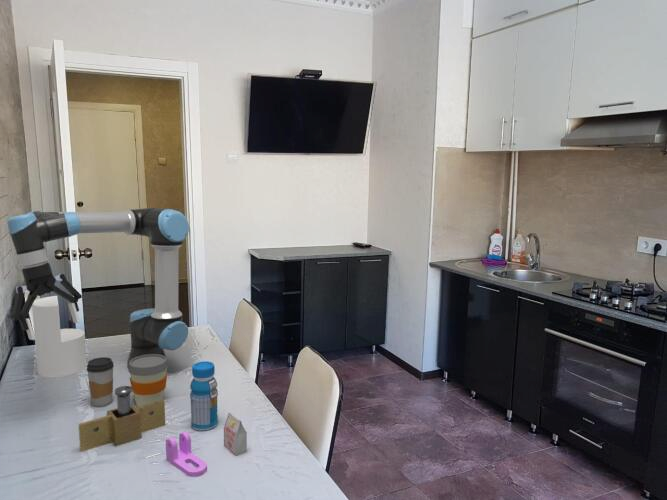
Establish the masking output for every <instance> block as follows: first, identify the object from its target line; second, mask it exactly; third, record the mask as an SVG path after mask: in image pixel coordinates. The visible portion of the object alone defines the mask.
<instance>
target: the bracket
mask: <svg viewBox="0 0 667 500" xmlns="http://www.w3.org/2000/svg"><path fill="white" fill-rule="evenodd" d="M178 439H179V440H178V441H179V442H177V440H176V438H175V437H174V436H173V437H172V436H171V437H169V438H167V439H166V440H165V457H166V458H165V459H166V461H167V462H168V463H170V464H171V465H173V466H175V467H176V468H177V469H178V470H180V471H181V472H182V473H184V474H185V475H187V477H193V478H195V477H199V476H202V475H204V474H205V473H207V470H208V468H207V467H208V464H207V462H206V461H204V460H203V459H202V458H200V457H199V456H197V455H195V454H194V453H192V440H191V439H192V438H191V436H190V433H189V432H188V431H184V432H180V433H179V435H178ZM178 445H179V448H178ZM190 464H191V465H193V466H194V467H193V466H191V465H190Z"/></svg>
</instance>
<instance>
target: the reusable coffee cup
mask: <svg viewBox="0 0 667 500" xmlns="http://www.w3.org/2000/svg"><path fill="white" fill-rule="evenodd" d="M166 357H167V356H166ZM166 357H165V356H163V355H158V354H148V355H142V356H138V357H135V358H133V359H132V360H130V362H129V369H128V373H129V374H130V375H129V376H130V377H129V382H130V387H131V388H132V392H131V393H133V396H134V401H135V405H136V407H140V406H143V405H147V404H150V403H154V402H157V401H161V400H164V397H165V389H166V387H167V380H168V379H167V378H168V373H167V369H168V361H167V359H168V358H167V359H166Z"/></svg>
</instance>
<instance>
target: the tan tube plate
mask: <svg viewBox="0 0 667 500" xmlns="http://www.w3.org/2000/svg"><path fill="white" fill-rule="evenodd" d="M165 401H166V400H164V399H163V400H161V401H157V402H154V403H150V404H147V405H143V406H140V407H138V406H134V404H133V403H130V404H131V414H130V415H127V416H123V417H120V418H118V407H116V408H113V409H108V410H106V415H105V416H101V417H98V418H95V419H91V420H87V421H84V422H81V423H78V439H79V451H80V452H85V451H89V450H91V449H93V448H97V447H100V446H103V445H106V444H110V443H113V444H114V446H115V447H118V446H121V445H124V444H126V443H131V442H133V441H137V440H140V439H142V433H144V432H147V431H151V430H153V429H157V428H159V427H164V426H166V411H165V410H166V408H165V407H166V405H165V404H166V403H165Z"/></svg>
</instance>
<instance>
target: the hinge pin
mask: <svg viewBox="0 0 667 500" xmlns="http://www.w3.org/2000/svg"><path fill="white" fill-rule="evenodd" d="M132 393H133V392H132V388H131V385H122V386H118V387H117V388H115V390H114V394H115V396H116V403H117V404H116V405H117V407H116V408H118V418H120V417H123V416H127V415H130V414H131V404H132V403H131V394H132Z"/></svg>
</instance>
